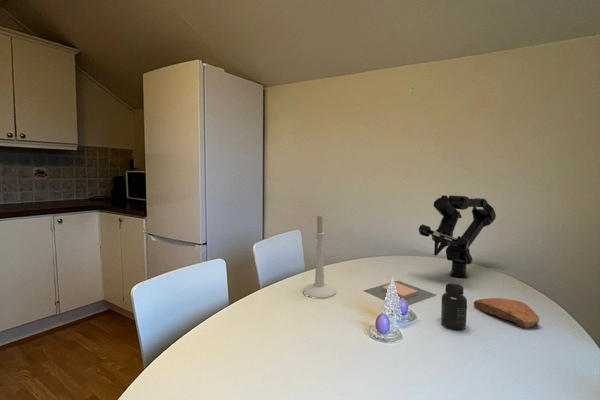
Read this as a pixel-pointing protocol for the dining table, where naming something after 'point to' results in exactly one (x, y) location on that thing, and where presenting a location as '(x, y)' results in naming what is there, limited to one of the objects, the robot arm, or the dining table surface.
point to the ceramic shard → (509, 310)
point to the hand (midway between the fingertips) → (435, 255)
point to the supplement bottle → (454, 307)
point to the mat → (420, 297)
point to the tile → (402, 291)
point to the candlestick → (319, 270)
